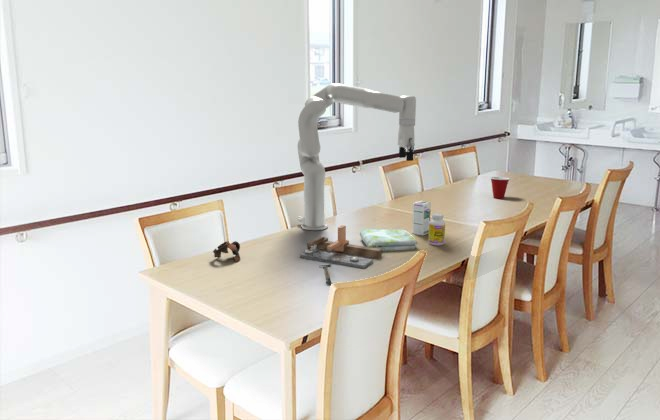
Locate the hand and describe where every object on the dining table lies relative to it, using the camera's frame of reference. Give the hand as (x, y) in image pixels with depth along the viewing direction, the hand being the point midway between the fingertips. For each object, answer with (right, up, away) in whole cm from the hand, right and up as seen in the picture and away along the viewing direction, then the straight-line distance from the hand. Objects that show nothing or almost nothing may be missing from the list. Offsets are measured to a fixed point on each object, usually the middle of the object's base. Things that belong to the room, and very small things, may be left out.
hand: (405, 159), depth 274 cm
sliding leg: (-33, -41, -41) cm, 67 cm away
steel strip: (-34, -44, -48) cm, 73 cm away
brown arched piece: (-76, -44, -46) cm, 99 cm away
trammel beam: (-31, -42, -43) cm, 67 cm away
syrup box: (+5, -35, -12) cm, 37 cm away
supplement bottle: (+9, -39, -27) cm, 48 cm away
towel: (-11, -39, -27) cm, 49 cm away
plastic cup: (+61, -17, +59) cm, 87 cm away
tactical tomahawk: (-38, -48, -64) cm, 89 cm away
